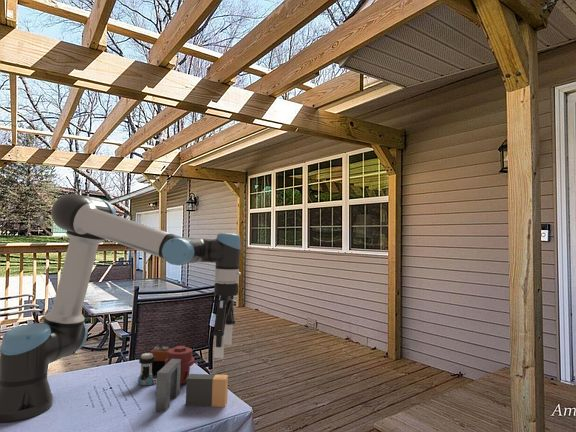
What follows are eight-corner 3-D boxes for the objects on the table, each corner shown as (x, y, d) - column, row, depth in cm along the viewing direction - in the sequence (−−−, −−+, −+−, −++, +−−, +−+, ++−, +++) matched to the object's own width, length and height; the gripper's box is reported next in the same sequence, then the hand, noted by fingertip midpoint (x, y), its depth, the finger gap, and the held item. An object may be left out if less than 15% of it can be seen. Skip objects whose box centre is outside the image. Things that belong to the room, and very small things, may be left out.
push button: (159, 381, 131) (160, 352, 132) (154, 386, 126) (156, 356, 126) (140, 380, 131) (141, 352, 131) (135, 386, 125) (136, 356, 126)
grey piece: (155, 411, 108) (157, 372, 109) (170, 393, 121) (172, 358, 122) (165, 411, 108) (167, 373, 109) (179, 393, 121) (181, 359, 122)
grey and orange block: (185, 405, 112) (186, 378, 113) (189, 399, 116) (190, 373, 117) (224, 406, 112) (225, 379, 112) (227, 401, 116) (228, 375, 116)
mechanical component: (198, 379, 133) (185, 390, 123) (173, 376, 135) (158, 387, 125) (199, 344, 134) (186, 352, 124) (174, 342, 136) (159, 350, 126)
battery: (166, 377, 135) (168, 349, 135) (148, 376, 135) (149, 348, 136) (171, 372, 139) (172, 345, 140) (153, 372, 139) (154, 345, 140)
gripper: (231, 287, 104) (227, 364, 102) (244, 278, 129) (241, 340, 127) (205, 286, 104) (200, 363, 103) (222, 277, 129) (219, 339, 128)
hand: (223, 350), depth 115 cm, fingers open, 13 cm apart
